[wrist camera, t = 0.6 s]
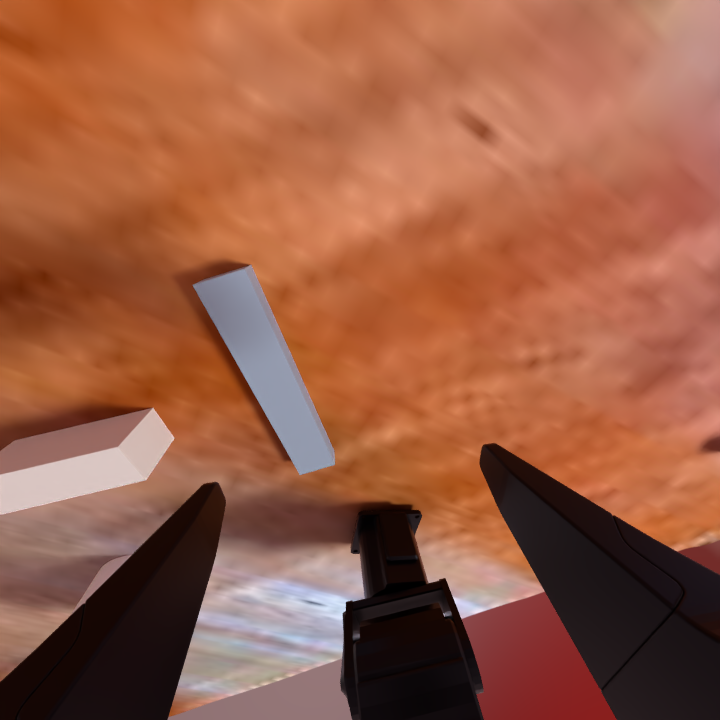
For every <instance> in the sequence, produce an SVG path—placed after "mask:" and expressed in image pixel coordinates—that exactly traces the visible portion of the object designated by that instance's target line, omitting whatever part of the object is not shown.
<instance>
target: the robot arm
mask: <svg viewBox="0 0 720 720" xmlns="http://www.w3.org/2000/svg"><path fill="white" fill-rule="evenodd" d="M480 468H481V470H482V472H483V475H484V477H485V479H486V481H487V484H488V486H489V488H490V490H491V493H492V495H493V497H494V499H495V502H496V504H497V506H498V508H499V510H500V512H501V514H502V516H503V518H504V520H505V522H506V523H507V525H508V527H509V529H510V530H511V532H512V534H513V536H514V537H515V539H516V541H517V543H518V545H519V546H520V548H521V550H522V552H523V553H524V555H525V557H526V559H527V561H528V562H529V564H530V566H531V568H532V569H533V571H534V573H535V575H536V577H537V578H538V580H539V582H540V584H541V585H542V587H543V589H544V591H545V592H546V594H547V596H548V598H549V599H550V601H551V603H552V605H553V607H554V608H555V610H556V612H557V614H558V616H559V617H560V619H561V621H562V623H563V624H564V626H565V628H566V630H567V632H568V633H569V635H570V637H571V639H572V640H573V642H574V644H575V646H576V647H577V649H578V651H579V653H580V654H581V656H582V658H583V660H584V661H585V663H586V665H587V667H588V669H589V671H590V672H591V674H592V675H593V678H594V679H595V681H596V683H597V685H598V686H599V688H600V689H601V692H602V694H603V696H604V697H605V699H606V701H607V703H608V705H609V706H610V708H611V710H612V712H613V714H614V715H615V717H616V719H617V720H720V575H719V574H717V573H715V572H714V571H712V570H710V569H708V568H706V567H704V566H702V565H701V564H699V563H697V562H695V561H693V560H691V559H690V558H688V557H686V556H684V555H682V554H680V553H679V552H677V551H675V550H673V549H671V548H669V547H668V546H666V545H664V544H662V543H660V542H659V541H657V540H655V539H653V538H652V537H650V536H648V535H647V534H645V533H643V532H641V531H640V530H638V529H636V528H635V527H633V526H631V525H630V524H628V523H626V522H625V521H623V520H621V519H620V518H618V517H616V516H614V515H613V516H612V514H611V513H610V512H608V511H606V510H605V509H603V508H601V507H600V506H598V505H596V504H595V503H593V502H591V501H590V500H588V499H586V498H585V497H583V496H582V495H580V494H578V493H577V492H575V491H573V490H572V489H570V488H568V487H567V486H565V485H563V484H562V483H560V482H558V481H557V480H555V479H553V478H552V477H550V476H549V475H547V474H545V473H544V472H542V471H540V470H539V469H537V468H535V467H534V466H532V465H530V464H529V463H527V462H525V461H524V460H522V459H520V458H519V457H517V456H516V455H514V454H512V453H511V452H509V451H507V450H506V449H504V448H502V447H501V446H499V445H497V444H495V443H491V444H484V445H483V446H482V450H481V455H480ZM225 506H226V500H225V497H224V494H223V492H222V490H221V487H220V485H219V483H217V482H212V483H206V484H203V485H202V486H201V487H200V488H199V489H198V490H197V491H196V492H195V493H194V494H193V495H192V496H191V497H190V498H189V499H188V500H187V501H186V502H185V503H184V504H183V505H182V506H181V507H180V508H179V509H178V510H177V511H176V512H175V513H174V514H173V515H172V516H171V517H170V518H169V519H168V520H167V521H166V522H165V523H164V524H163V525H162V526H161V527H160V528H159V529H158V530H157V531H155V532H154V533H153V534H152V535H151V536H150V537H149V538H148V539H147V540H146V541H145V542H144V543H143V544H142V545H141V546H140V547H139V548H138V549H137V550H136V551H135V552H134V553H133V554H132V555H131V556H130V557H129V558H128V559H127V560H126V561H125V562H124V563H123V564H122V565H121V566H120V567H119V568H118V569H117V570H116V571H115V572H114V573H113V574H112V575H111V576H110V577H109V578H108V579H107V580H106V581H105V582H104V583H103V584H102V585H101V586H100V587H99V588H98V589H97V590H96V591H95V592H94V593H93V594H92V595H91V596H90V597H89V598H88V599H87V600H86V602H85V603H84V604H82V605H81V606H80V607H79V608H78V609H77V610H76V611H75V612H74V613H73V614H72V615H71V616H70V617H69V618H68V619H67V620H66V621H64V622H63V623H62V624H61V625H60V626H59V627H58V628H57V629H56V630H55V631H54V632H53V633H52V634H51V635H50V636H49V637H48V638H47V639H46V640H45V641H44V642H43V643H42V644H41V645H40V646H39V647H38V648H36V649H35V650H34V651H33V652H32V653H31V654H30V655H29V656H28V657H27V658H26V659H25V660H23V661H22V662H21V663H20V664H19V665H18V666H17V667H16V668H15V669H14V670H13V671H12V672H11V673H9V674H8V675H7V676H6V677H5V678H4V679H3V680H2V681H1V682H0V720H167V719H168V716H169V713H170V709H171V706H172V702H173V699H174V696H175V692H176V689H177V686H178V682H179V679H180V675H181V672H182V669H183V665H184V662H185V659H186V655H187V652H188V649H189V645H190V642H191V638H192V635H193V632H194V628H195V625H196V622H197V618H198V615H199V611H200V608H201V605H202V601H203V598H204V595H205V591H206V588H207V584H208V581H209V578H210V574H211V571H212V568H213V564H214V560H215V557H216V552H217V547H218V542H219V537H220V532H221V527H222V521H223V516H224V511H225ZM421 518H422V514H421V512H420V511H419V510H388V511H361V512H359V513H358V517H357V521H356V526H355V530H354V534H353V539H352V543H351V553H353V554H360V560H361V569H362V578H363V587H364V596H365V599H362V600H358V601H354V602H353V601H348V602H346V611H345V612H344V613H343V630H344V644H343V656H342V668H341V679H340V682H341V683H340V684H341V691H342V692H343V693H344V695H345V696H346V697H347V699H348V704H349V707H350V712H351V716H352V720H484V719H483V716H482V712H481V709H480V706H479V702H478V699H477V695H476V694H479V693H483V684H482V680H481V676H480V672H479V669H478V665H477V662H476V659H475V655H474V652H473V649H472V646H471V643H470V641H469V638H468V635H467V633H466V630H465V627H464V625H463V622H462V620H461V617H460V614H459V612H458V609H457V607H456V604H455V602H454V599H453V597H452V594H451V591H450V589H449V586H448V584H447V581H446V579H445V578H443V579H439V581H437V582H432V583H428V580H427V577H426V573H425V570H424V566H423V563H422V560H421V556H420V553H419V549H418V546H417V542H416V539H415V533H416V530H417V528H418V525H419V523H420V520H421ZM443 613H444V614H445V617H444V615H443Z"/></svg>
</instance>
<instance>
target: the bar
mask: <svg viewBox="0 0 720 720" xmlns="http://www.w3.org/2000/svg"><path fill="white" fill-rule="evenodd" d="M193 287H194V289H195V290H196V292H197V294H198V296H199V297H200V299H201V301H202V303H203V305H204V306H205V308H206V310H207V312H208V313H209V315H210V317H211V319H212V320H213V322H214V324H215V326H216V327H217V329H218V331H219V333H220V335H221V336H222V338H223V340H224V342H225V343H226V345H227V347H228V349H229V350H230V352H231V354H232V356H233V358H234V359H235V361H236V363H237V365H238V366H239V368H240V370H241V372H242V373H243V375H244V377H245V379H246V380H247V382H248V384H249V386H250V388H251V389H252V391H253V393H254V395H255V396H256V398H257V400H258V402H259V403H260V405H261V407H262V409H263V410H264V412H265V414H266V416H267V418H268V419H269V421H270V423H271V425H272V426H273V428H274V430H275V432H276V433H277V435H278V437H279V439H280V440H281V442H282V444H283V446H284V448H285V449H286V451H287V453H288V455H289V456H290V458H291V460H292V462H293V463H294V465H295V467H296V469H297V471H298V472H299V474H300V475H302V474H305V473H309V472H312V471H315V470H319V469H322V468H326V467H329V466H332V465H335V453H334V449H333V447H332V445H331V443H330V440H329V438H328V436H327V434H326V431H325V429H324V427H323V425H322V422H321V420H320V418H319V416H318V414H317V411H316V409H315V407H314V405H313V402H312V400H311V398H310V396H309V393H308V391H307V389H306V387H305V384H304V382H303V380H302V378H301V375H300V373H299V371H298V369H297V366H296V364H295V362H294V360H293V358H292V355H291V353H290V351H289V349H288V346H287V344H286V342H285V340H284V337H283V335H282V333H281V331H280V328H279V326H278V324H277V322H276V319H275V317H274V315H273V313H272V311H271V308H270V306H269V304H268V302H267V299H266V297H265V295H264V293H263V290H262V288H261V286H260V284H259V281H258V279H257V277H256V275H255V272H254V270H253V268H252V266H251V265H249V266H246V267H242V268H239V269H236V270H233V271H229V272H226V273H223V274H220V275H217V276H213V277H210V278H207V279H204V280H201V281H199V282H197V283H195V284H193Z"/></svg>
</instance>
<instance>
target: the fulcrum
mask: <svg viewBox="0 0 720 720" xmlns="http://www.w3.org/2000/svg"><path fill="white" fill-rule="evenodd" d="M173 440H174V437H173V435H172V434H171V432H170V431H169V430H168V428H167V427H166V425H165V424H164V423H163V421H162V420H161V418H160V417H159V415H158V414H157V413H156V411H155V410H154V408H150V409H146V410H142V411H137V412H133V413H129V414H125V415H120V416H116V417H112V418H108V419H103V420H99V421H95V422H91V423H86V424H82V425H78V426H74V427H69V428H65V429H61V430H57V431H52V432H48V433H44V434H40V435H35V436H31V437H27V438H23V439H18V440H15V441H13V442H12V443H10V444H9V445H8V446H6V447H5V448H3V449H2V450H1V451H0V515H2V514H6V513H11V512H15V511H19V510H23V509H27V508H31V507H36V506H40V505H44V504H48V503H52V502H57V501H61V500H65V499H69V498H73V497H78V496H82V495H86V494H90V493H94V492H98V491H103V490H107V489H111V488H115V487H119V486H124V485H128V484H132V483H136V482H140V481H145V480H147V478H148V477H149V475H150V474H151V472H152V471H153V469H154V468H155V466H156V465H157V463H158V462H159V460H160V459H161V458H162V456H163V455H164V453H165V452H166V450H167V449H168V447H169V446H170V444H171V443H172V441H173Z"/></svg>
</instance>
